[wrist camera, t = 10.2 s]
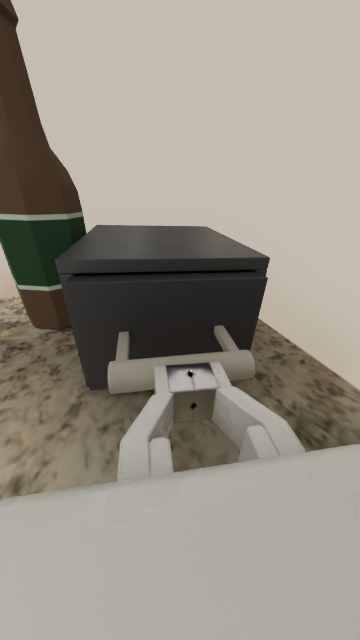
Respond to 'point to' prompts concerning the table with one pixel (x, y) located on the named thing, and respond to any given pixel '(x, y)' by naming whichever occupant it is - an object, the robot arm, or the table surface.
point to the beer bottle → (32, 190)
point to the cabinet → (153, 254)
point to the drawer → (163, 323)
